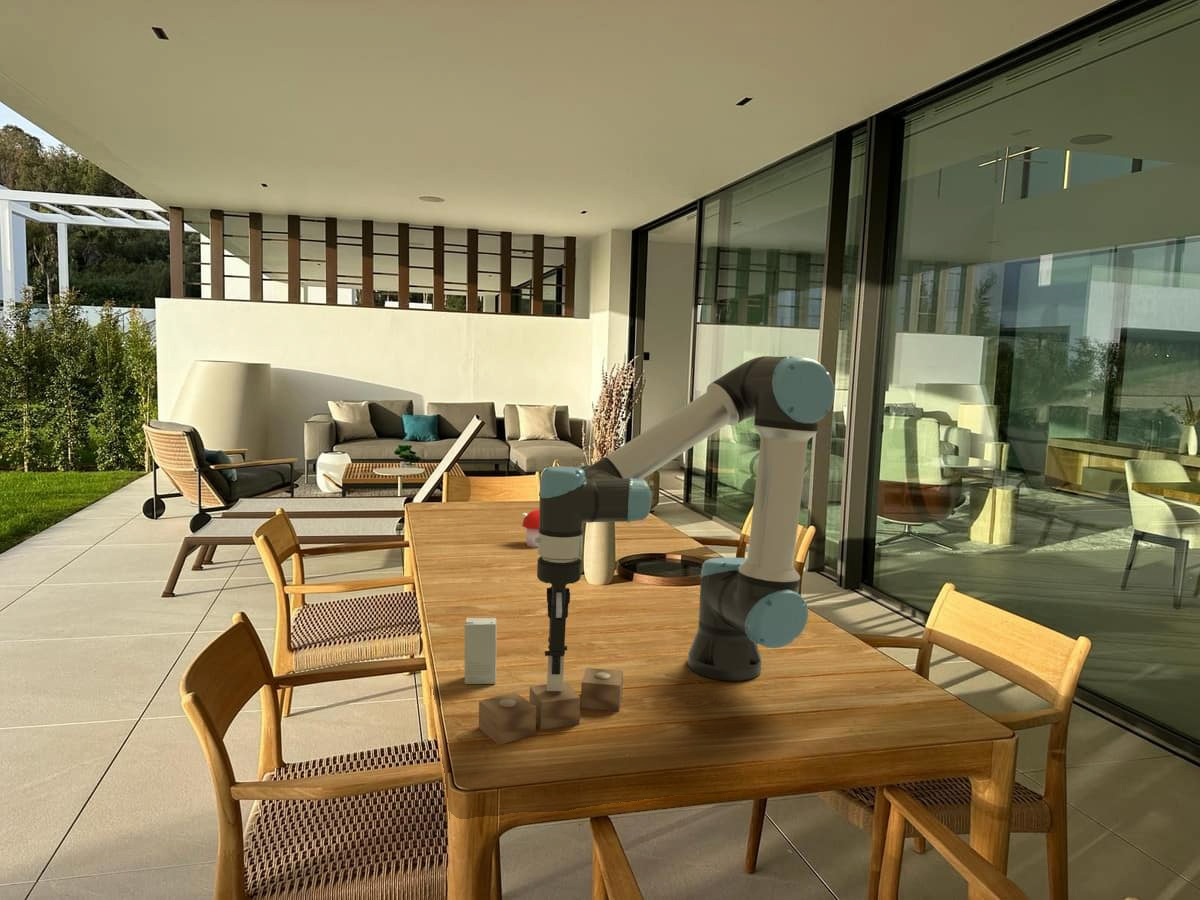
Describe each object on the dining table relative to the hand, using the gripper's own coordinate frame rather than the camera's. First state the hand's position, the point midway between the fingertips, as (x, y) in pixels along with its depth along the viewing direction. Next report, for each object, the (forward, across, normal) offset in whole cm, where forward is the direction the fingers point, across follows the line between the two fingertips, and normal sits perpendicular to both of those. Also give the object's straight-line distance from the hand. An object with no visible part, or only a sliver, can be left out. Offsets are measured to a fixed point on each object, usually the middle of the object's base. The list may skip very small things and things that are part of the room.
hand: (554, 689), depth 140 cm
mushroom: (+6, -130, -3) cm, 130 cm away
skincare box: (+6, -16, -14) cm, 22 cm away
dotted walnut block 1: (+6, +5, -8) cm, 11 cm away
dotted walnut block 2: (+6, -7, +9) cm, 13 cm away
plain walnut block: (+6, 0, 0) cm, 6 cm away
